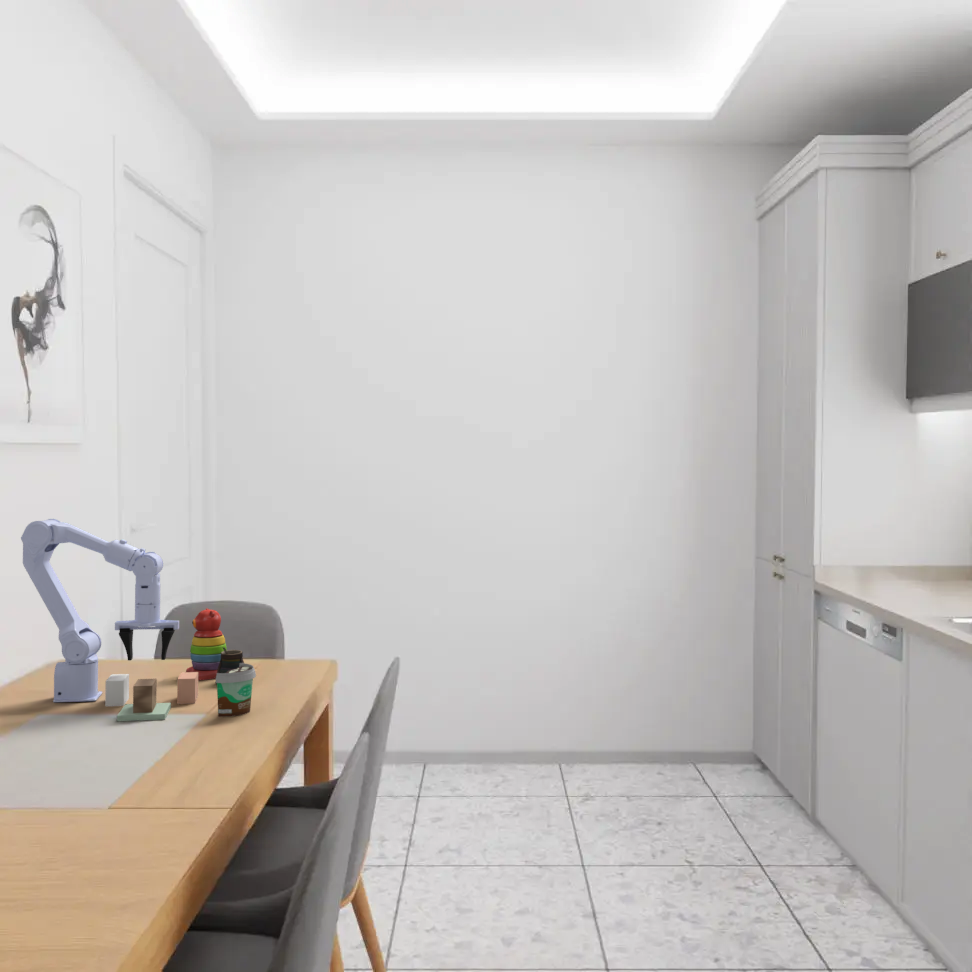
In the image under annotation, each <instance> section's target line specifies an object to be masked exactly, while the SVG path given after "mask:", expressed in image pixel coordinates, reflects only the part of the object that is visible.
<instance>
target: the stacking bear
mask: <svg viewBox="0 0 972 972" xmlns="http://www.w3.org/2000/svg"><path fill="white" fill-rule="evenodd" d="M221 623H222V617H221V614H220V613H219V612H218V611H217V610H215V609H209V608H207V607H206V608H205V609H204V610H203V609H202V610H200V611H199V612H198V614H197V615H196V616H195V617H194V618H193V620H192V626H193V628H194V629H195V630H196V631H195V632H194V634H193V637H192V639H191V644H190V648H189V649H190V651H189V652H190V654H189V655H190V660H191V665H192V666H189V667H187V668H186V670H185V672H198V682H199V681H207V680H213V679H214V680H216V676H217V669H218V666H219V663H220V660H221V652H223V651H224V649H223V648H225V649H226V650H228V649H227V643H226V638H225V636H224V634H223V632H222V630H220V628H221ZM222 647H223V648H222Z"/></svg>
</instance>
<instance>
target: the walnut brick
mask: <svg viewBox="0 0 972 972" xmlns="http://www.w3.org/2000/svg"><path fill="white" fill-rule="evenodd" d="M157 687H158V686H157V678H138V679H136V682H135V683H134V684H133V687H132V689H133V691H132V693H133V694H132V698H133V699H132V704H133V713H151V712H153V710H154V708H155V706H156V703H157Z"/></svg>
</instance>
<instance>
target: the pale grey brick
mask: <svg viewBox="0 0 972 972" xmlns="http://www.w3.org/2000/svg"><path fill="white" fill-rule="evenodd" d="M104 691H105V693H104V694H105V695H104V696H105V700H104V701H105V702H104V703H105V704H104V706H105V707H124V705H125V704H127V702H128V701H129V699H130V673H118V674H117V673H116V674H115V673H114V674H113V673H112V674H110V675H109V677H108V678H107V679H106V680H105V690H104Z"/></svg>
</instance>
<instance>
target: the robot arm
mask: <svg viewBox="0 0 972 972" xmlns="http://www.w3.org/2000/svg"><path fill="white" fill-rule="evenodd" d="M20 540H21V543H22V564H23V567H24V569H25V571H26V572H27V574H28V576H29V578H30V580H31V582H32V583H33V585H34V587H35V588H36V591H37V592H38V594H39V596H40V598H41V599H42V601H43V604H44V605H45V607H46V608H47V610H48V612H49V613H50V616H51V618H52V619H53V621H54V624H55V625H56V626H57V628H58V641H59V642H60V645H61V654H62V657H63V658H64V659H65V660H64V661H60V662H56V664H55V667H54V673H53V701H52V702H53V703H72V702H73V703H76V702H95V701H97V700H98V699H99V698H100V696H101V695H102V694H103V691H100V690H99V657H98V654H97V653H98V652H99V651H100V649H101V647H102V638H101V637H100V635H99V633H97V632H96V631H94V630H93V629H92V628H91V627H90V625H89V623H88V622H86V621H85V620H83V619H82V618H81V616H80V615H79V612H78V611H77V609H76V608H75V605H74V604H73V602H72V601H71V599H70V597H69V595H68V593H67V591H66V590H65V587H64V586H63V584H62V583H61V582H62V581H60V579H59V577H58V575H57V573H56V572H55V569H54V568H53V565H52V564H51V562H50V561H51V558H52V555H53V554H54V551H55V549H56V548H57V547H58V546H59V545H60V544H66V543H67V544H68V543H71V544H73V545H77V546H79V547H82V548H85V549H87V550H89V551H90V550H91V551H93V552H96V553H99V554H101V555H102V556H103V558H104V561H105V562H107V563H109V564H112V565H115V566H116V567H119V568H121V569H123V570H126V571H129V572H132V573H133V575H134V576H135V585H134V586H135V587H134V619H131V620H116V621H115V622H114V631H119V632H118V635H119V638H120V639H121V642H122V644H123V645H124V648H125V649H124V650H125V652H126V656H127V661H132V660H133V658H134V652H133V651H134V650H133V640H134V639H133V637H134V631H135V630H162V631H161V653H160V654H161V655H160V656H161V659H160V660H161V661H165V659H167V653H168V648H169V645H170V642H171V640H172V638H173V636H174V633H175V631H176V630H177V631H178V630H179V629H180V620H175V619H174V620H173V619H172V620H171V619H161V572H162V570H163V567H164V560H163V559H162V557H161V556H160V555H159V554H157V552H155V551H148V552H146V549H145V548H144V547H141V548H138V547H136V546H133V545H131V544H129V543H128V540H126V539H124V538H123V539H120V540H119V539H114V540H111V541H108V540H106V539H103V538H102V537H100V536H97V535H96V534H93V533H91V532H89V531H86V530H84V529H81V528H79V527H77V526H75V525H74V524H71V523H69V522H64V521H61V520H58V519H56V518H48V519H44V520H35V521H32V522H30V523H28V524H27V526H25V528H24V531H23V532H22V534H21V537H20Z"/></svg>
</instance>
